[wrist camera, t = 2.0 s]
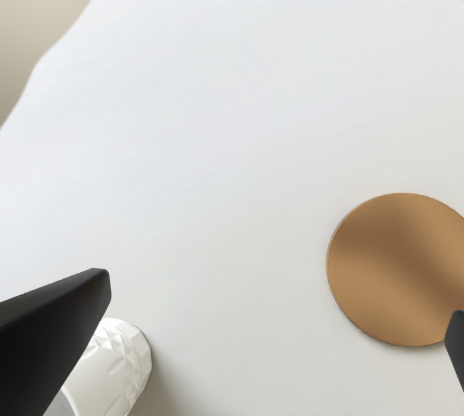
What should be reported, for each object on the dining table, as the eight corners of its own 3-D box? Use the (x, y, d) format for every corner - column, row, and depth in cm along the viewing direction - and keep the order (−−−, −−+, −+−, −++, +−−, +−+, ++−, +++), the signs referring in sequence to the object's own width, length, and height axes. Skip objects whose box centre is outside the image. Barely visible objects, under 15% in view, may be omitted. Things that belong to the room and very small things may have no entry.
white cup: (142, 296, 24) (58, 338, 15) (173, 395, 23) (105, 511, 14) (55, 327, 25) (-83, 388, 15) (81, 425, 24) (-47, 558, 14)
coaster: (460, 366, 21) (466, 370, 21) (308, 314, 23) (309, 316, 22) (499, 218, 22) (506, 218, 21) (348, 176, 24) (350, 175, 23)
